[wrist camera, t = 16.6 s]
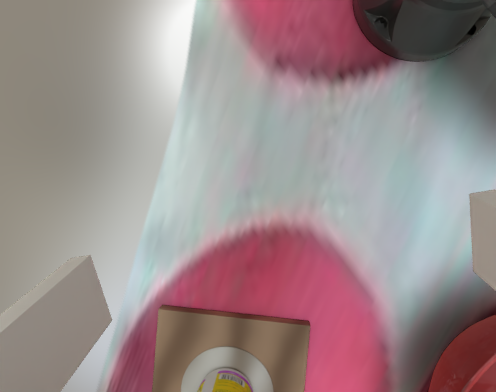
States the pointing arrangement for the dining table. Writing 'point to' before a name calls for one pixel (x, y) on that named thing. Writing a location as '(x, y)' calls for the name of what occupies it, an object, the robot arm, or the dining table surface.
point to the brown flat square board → (229, 349)
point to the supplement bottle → (225, 382)
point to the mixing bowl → (468, 361)
